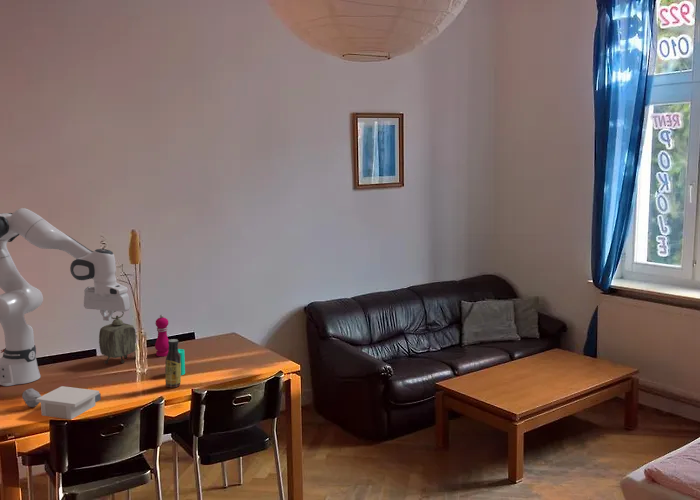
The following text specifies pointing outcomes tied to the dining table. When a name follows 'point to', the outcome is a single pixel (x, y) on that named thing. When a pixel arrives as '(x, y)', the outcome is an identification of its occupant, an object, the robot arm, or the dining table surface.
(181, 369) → the candle
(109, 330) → the tabletop clock
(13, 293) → the robot arm
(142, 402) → the dining table surface
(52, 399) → the box with flat lid
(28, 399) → the frog figurine
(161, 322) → the pepper mill
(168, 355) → the sauce bottle
